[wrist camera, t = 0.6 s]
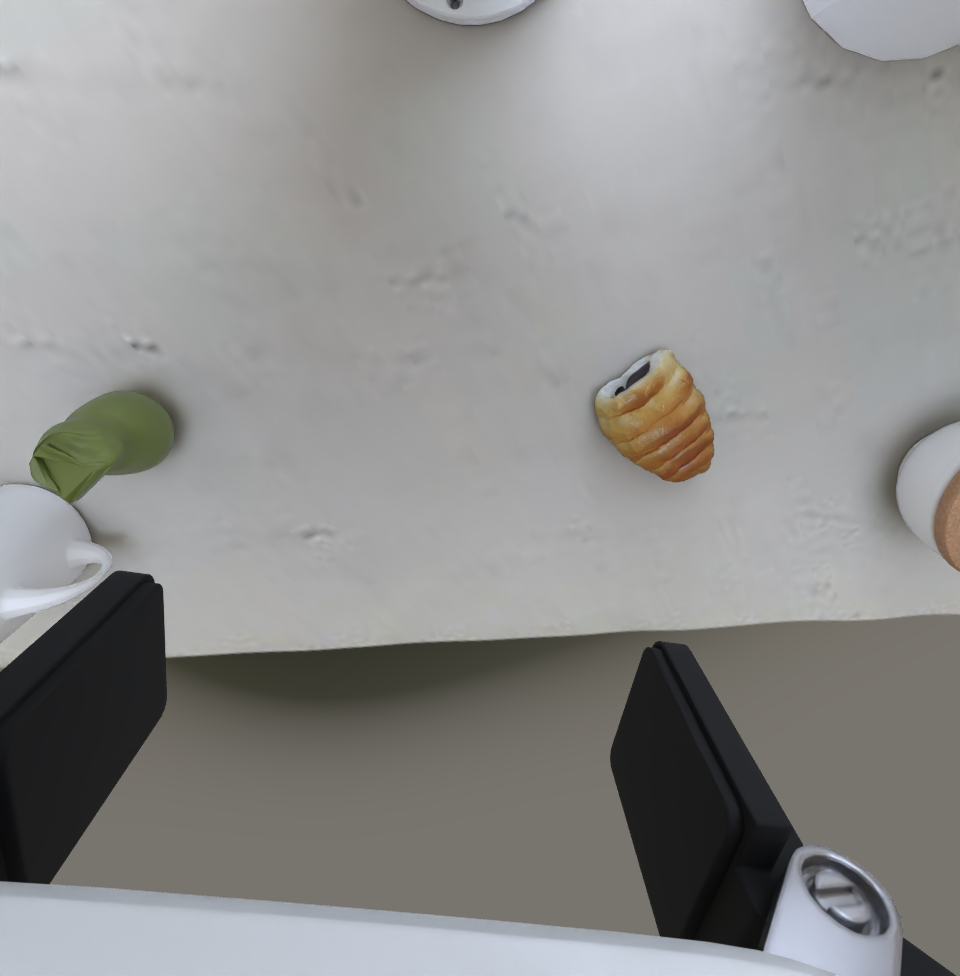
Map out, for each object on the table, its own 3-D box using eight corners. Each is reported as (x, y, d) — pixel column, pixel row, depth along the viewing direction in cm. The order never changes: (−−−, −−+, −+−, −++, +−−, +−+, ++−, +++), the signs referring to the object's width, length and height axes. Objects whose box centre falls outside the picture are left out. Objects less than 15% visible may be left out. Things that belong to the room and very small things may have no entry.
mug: (149, 589, 45) (61, 684, 35) (-10, 577, 44) (-145, 671, 35) (135, 489, 42) (33, 563, 32) (-37, 475, 41) (-195, 546, 31)
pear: (141, 366, 39) (39, 403, 29) (204, 424, 40) (126, 476, 31) (91, 418, 40) (-22, 469, 31) (153, 472, 41) (64, 536, 32)
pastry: (729, 439, 41) (754, 457, 38) (651, 494, 43) (668, 516, 40) (659, 338, 39) (678, 347, 35) (578, 401, 40) (589, 416, 37)
